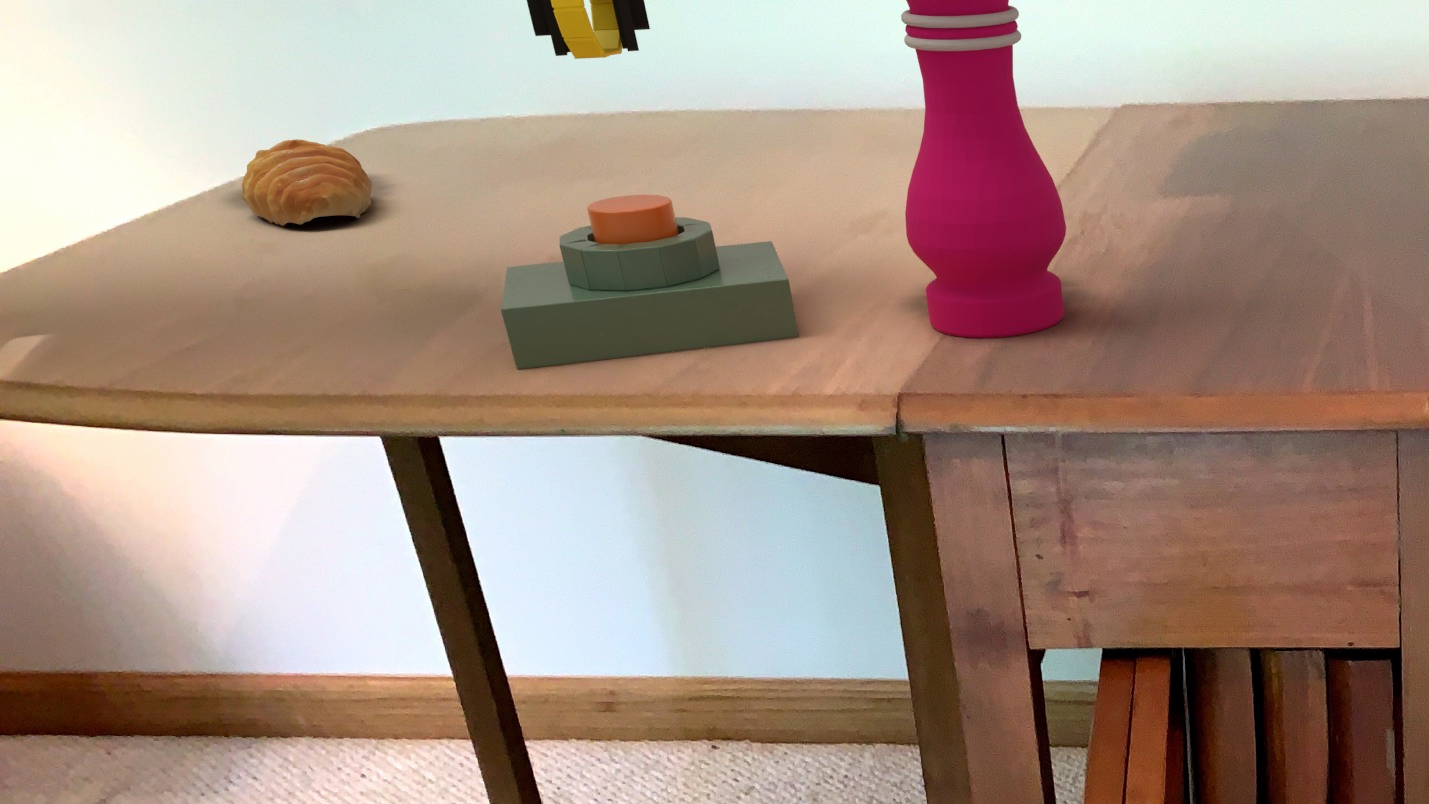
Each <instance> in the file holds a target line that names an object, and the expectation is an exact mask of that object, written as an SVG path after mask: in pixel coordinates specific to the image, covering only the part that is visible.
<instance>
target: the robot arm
mask: <svg viewBox="0 0 1429 804" xmlns="http://www.w3.org/2000/svg"><path fill="white" fill-rule="evenodd" d="M612 2H613V7H614V11H615V16H616V20H617V25H618V30H619V34H620V39H621V43H622V50H625V49H626V50H627V52H639V51H640V48H639V44H638V40H637V35H636V31H645V30H651V28H650V22H649V17H648V13H647V8H646V4H645V0H612ZM526 4H527V7H528V12H529V16H530V20H531V24H532V28H533V32H534V35H535V37H543V36H546V37H547V36H550V38H551V39H550V40H551V43H552V47H553V51H554V54H555V55H554V56H555V57H561V56H564V57H565V56H568V53H571V51H570V49H569V48H568V46H567V44H566V43H565V41H564V38H563V37H562V34H561V31H560V29H559V26H558V23H557V20H556V17H555V14H554V12H553V10H554V8H553V7H552V4H551V0H526Z"/></svg>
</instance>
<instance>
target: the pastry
mask: <svg viewBox="0 0 1429 804" xmlns="http://www.w3.org/2000/svg"><path fill="white" fill-rule="evenodd" d="M241 189H242V190H241V191H242V192H241V198H242V200H243V202H244V203H245V204H246V205H247V206H248V208H249V209H250V210H251V211H252V213H253V214H254V215H256V216H258V217H260V218H264V219H265V220H266V221H268V222H269V223H270V224H272V223H274V224H275V225H280V226H282V227H284V226H285V225H287V223H292V224H297V225H303V224H305V223H306V222H310V221H312V220H313V219H315V218H319V217H330V216H331V217H332V216H351V217H355V218H357V219H361V214H362V213H367V212H368V210H369V208H370V207H371V206H372V200H371V194H372V190H373V182H372V180H371V178H370V177H369V176H368V174H367V173H366V171H365V170H364V168H363V167H362V164H361V162H360V161H359V160H358V158H356V157H355V156H354V155H352V153H350V152H348V151H346V150H345V149H344V148H342V147H337V146H336V147H335V146H331V145H326V144H323V143H319V142H316V141H309V140H305V139H288V140H283V141H280V142H278V143H275V145H273V146H272V147H270V148H269V149H260V150H257V151H256V152H255V157H254V158H253V159H252V160H251V161H249V162H248V164H247V165H246V172H245V174H244V177H243V179H242V182H241Z"/></svg>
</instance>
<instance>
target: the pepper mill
mask: <svg viewBox="0 0 1429 804" xmlns="http://www.w3.org/2000/svg"><path fill="white" fill-rule="evenodd" d="M905 1H906V4H907V6H908V8H909V9H906V10H904V11H903V12H902V13H901V14H900V20H901V22H902V23H903V24H904V25H905V28H904V31H905V33H906V34H905V36H904V38H903V41H904V44H905V45H906V46H907V47H909V48H910V49H914V50H915V53H916V58H917V62H918V66H919V70H920V74H921V78H922V86H923V100H924V120H923V133H922V137H921V141H920V145H919V150H918V153H917V157H916V160H915V162H914V165H913V168H912V172H911V176H910V179H909V183H908V188H907V195H906V202H905V213H904V215H905V216H904V217H905V232H906V233H905V235H906V239H907V242H908V245H909V247H910V248H911V250H912V252H913V253H914V255H916V257H917V258H918V259H919V260H920V261H921V262H922V263H923V264H924V265H925V266H926V267H927V268H928V269H929V270H930V271H931V272H933V274H934V275H935V279H933V280H931V281H930V282H929V283H928V284H927V286H925V297H926V303H927V309H928V310H927V311H928V316H929V317H928V318H929V324H930V325H931V326H932V328H934V329H935V330H936V331H938V332H940V333H942V334H943V335H949V336H953V337H960V338H968V339H995V338H996V339H997V338H1009V337H1015V336H1023V335H1028V334H1033V333H1036V332H1041V331H1043V330H1046V329H1048V328H1049V329H1050V328H1051V327H1054V326H1055V325H1057V324H1059V322H1060V321H1062V319H1063V318H1064V315H1065V307H1064V306H1065V304H1064V295H1063V288H1062V287H1063V286H1062V280H1061V279H1060V277H1059V276H1057V274H1055V273H1054V272H1052V271H1049V270H1048V268H1049V266H1050V264H1051V263H1052V261H1053V260H1054V258H1055V257H1056V255H1057V254H1058V253H1059V251H1060V249H1061V248H1062V245H1063V243H1064V240H1065V238H1066V235H1067V224H1066V219H1065V214H1064V207H1063V204H1062V199H1061V196H1060V195H1059V192H1058V189H1057V187H1056V183H1055V181H1054V179H1053V176H1052V175H1051V174H1050V172H1049V170H1048V168H1047V166H1046V165H1045V163H1044V161H1043V159H1042V157H1041V156H1040V154H1039V152H1038V151H1037V148H1036V146H1035V145H1034V143H1033V141H1032V139H1031V137H1030V135H1029V133H1028V130H1027V128H1026V126H1025V123H1024V119H1023V116H1022V113H1021V110H1020V107H1019V104H1018V98H1017V93H1016V86H1015V79H1014V45H1016V44H1017V43H1019V42H1020V41H1021V40H1022V33H1021V31H1020V30H1018V27H1019V25H1018V22H1017V19H1018V18H1019V17H1020V12H1019V10H1018V8H1017V7H1015V6H1012V5H1009V3H1010V2H1009V1H1010V0H905Z"/></svg>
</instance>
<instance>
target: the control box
mask: <svg viewBox="0 0 1429 804" xmlns="http://www.w3.org/2000/svg"><path fill="white" fill-rule="evenodd" d="M675 218H676V223H677V228H678V232H679V235H676V236H674V237H670V238H665V239H661V240H656V241H651V242H641V243H630V244H600V243H596V242H595V240H594V236H593V232H592V227H591V224H590V225H585V226H582V227H578V228H576V229H573V230H571V231H568V232H567V233H564V234H561V235H560V236H559V249H560V254H561V258H562V261H555V262H546V263H545V262H544V263H536V264H535V263H534V264H525V265H514V266H507V267H506V272H505V279H504V285H503V286H504V287H503V291H502V292H503V293H502V299H501V307H500V313H501V316H502V319H503V323H504V327H505V331H506V334H507V338H508V342H509V345H510V349H511V353H512V356H513V360H514V364H515V368H516V369H517V370H518V371H519V370H529V369H536V368H544V367H545V368H546V367H554V366H562V365H572V364H579V362H580V363H588V362H595V361H596V362H597V361H605V360H615V359H622V358H631V357H640V356H639V355H641V356H648V355H649V356H650V355H655V354H654V353H658V354H665V352H667V353H673V352H672V351H675V352H683V350H684V351H687V350H686V349H693V350H699V349H700V348H701V349H708V348H707V347H710V348H718V347H726V346H734V345H744V344H752V343H761V342H769V341H777V340H787V339H795V338H799V337H800V334H799V329H798V324H797V323H798V322H797V318H796V312H795V307H794V302H793V301H794V300H793V296H792V291H791V285H790V280H789V278H788V275H787V273H786V271H785V268H784V266H783V264H782V261H781V259H780V257H779V254H778V252H777V250H776V247H775V246H774V245H775V244H774V243H773V241H771V240H769V241H760V242H750V243H749V242H748V243H739V244H728V245H719V246H716V241H715V237H714V233H713V229H712V226H711V225H712V224H711V223H710V222H709V221H705V220H701V219H696V218H692V217H684V216H683V217H682V216H681V217H679V216H675ZM704 347H705V348H704Z"/></svg>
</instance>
